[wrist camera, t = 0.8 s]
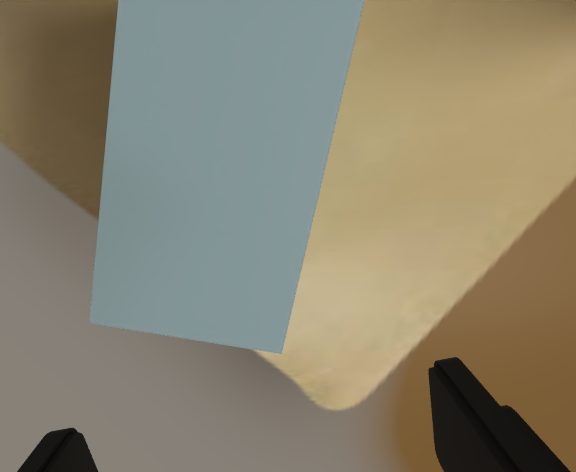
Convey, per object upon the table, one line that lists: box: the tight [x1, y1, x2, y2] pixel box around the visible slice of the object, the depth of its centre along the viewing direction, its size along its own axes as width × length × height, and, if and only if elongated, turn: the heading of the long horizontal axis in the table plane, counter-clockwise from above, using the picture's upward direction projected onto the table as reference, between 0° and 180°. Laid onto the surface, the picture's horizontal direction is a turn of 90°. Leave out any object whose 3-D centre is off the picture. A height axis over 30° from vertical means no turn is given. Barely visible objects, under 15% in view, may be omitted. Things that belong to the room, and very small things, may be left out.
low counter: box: [89, 0, 364, 354], centre depth 28 cm, size 24×12×17 cm, turn 168°
